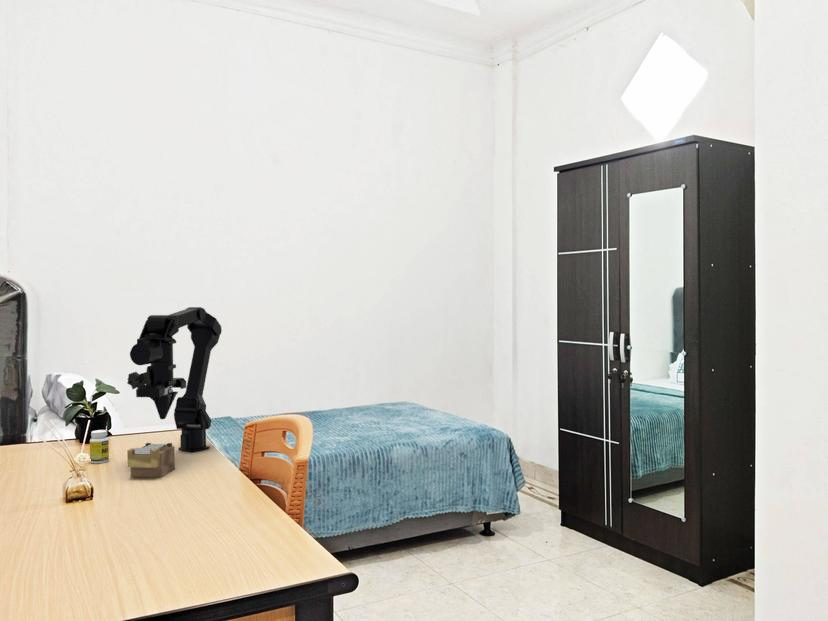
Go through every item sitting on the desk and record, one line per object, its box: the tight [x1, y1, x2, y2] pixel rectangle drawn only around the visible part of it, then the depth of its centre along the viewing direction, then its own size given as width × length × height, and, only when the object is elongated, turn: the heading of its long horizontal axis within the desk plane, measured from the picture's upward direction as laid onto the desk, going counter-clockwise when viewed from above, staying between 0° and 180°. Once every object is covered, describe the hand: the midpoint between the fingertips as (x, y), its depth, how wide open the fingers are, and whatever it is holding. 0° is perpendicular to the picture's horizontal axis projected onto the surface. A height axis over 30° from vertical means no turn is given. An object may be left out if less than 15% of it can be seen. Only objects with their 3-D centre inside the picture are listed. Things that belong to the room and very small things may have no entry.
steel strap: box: [135, 443, 168, 454], centre depth 174 cm, size 10×4×2 cm, turn 176°
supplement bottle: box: [89, 429, 110, 464], centre depth 188 cm, size 5×5×8 cm
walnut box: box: [126, 442, 176, 478], centre depth 174 cm, size 10×8×7 cm
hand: (162, 419), depth 185 cm, fingers closed
